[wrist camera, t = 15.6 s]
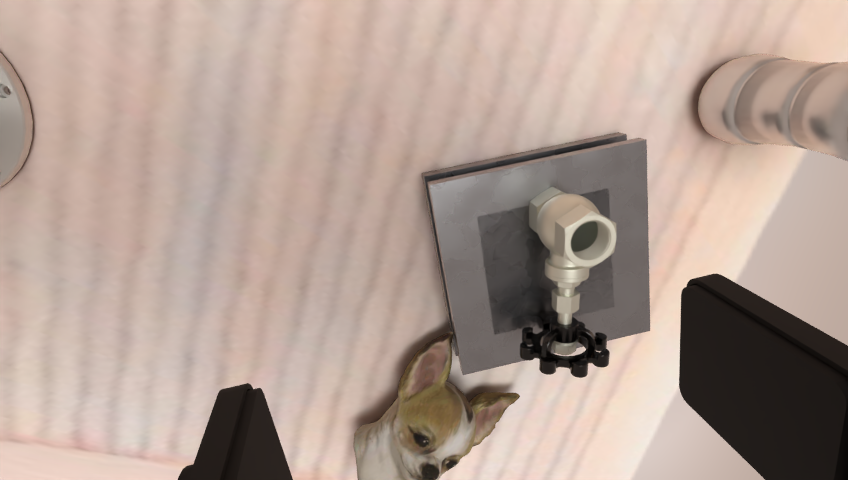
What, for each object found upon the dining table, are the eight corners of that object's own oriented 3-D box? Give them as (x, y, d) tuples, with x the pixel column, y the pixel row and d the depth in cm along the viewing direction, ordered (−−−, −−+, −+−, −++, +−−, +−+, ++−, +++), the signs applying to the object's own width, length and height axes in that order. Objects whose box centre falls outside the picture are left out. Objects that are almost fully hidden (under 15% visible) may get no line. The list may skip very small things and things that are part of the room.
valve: (507, 187, 36) (506, 334, 40) (539, 213, 30) (535, 384, 34) (595, 179, 37) (586, 324, 41) (644, 203, 31) (628, 371, 35)
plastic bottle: (671, 92, 40) (960, 120, 21) (745, 35, 39) (1111, 11, 20) (706, 155, 42) (995, 232, 23) (775, 102, 41) (1131, 138, 22)
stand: (453, 348, 45) (463, 375, 41) (421, 173, 39) (429, 185, 35) (625, 308, 46) (650, 330, 42) (618, 132, 40) (646, 139, 36)
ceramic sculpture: (315, 500, 37) (466, 363, 36) (316, 424, 45) (439, 311, 44) (412, 565, 41) (551, 443, 40) (397, 484, 49) (512, 381, 48)
